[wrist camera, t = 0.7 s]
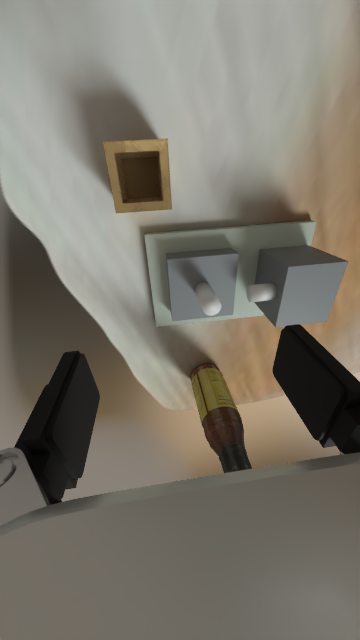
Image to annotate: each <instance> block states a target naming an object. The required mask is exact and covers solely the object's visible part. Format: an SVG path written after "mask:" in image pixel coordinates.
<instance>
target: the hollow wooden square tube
mask: <svg viewBox="0 0 360 640" xmlns="http://www.w3.org/2000/svg"><path fill="white" fill-rule="evenodd" d="M103 145H104V151H105V156H106V162H107V167H108V172H109V178H110V183H111V189H112V194H113V199H114V205H115V210H116V213H126V212H140V211H154V210H169V209H172V203H171V187H170V171H169V155H168V139H151V140H130V141H108V142H103ZM143 157H157V160H158V172H159V184H160V195H161V197H157V198H142V199H127V192H126V186H125V179H124V173H123V167H122V160H121V159H124V158H143Z"/></svg>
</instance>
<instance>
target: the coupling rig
mask: <svg viewBox="0 0 360 640" xmlns="http://www.w3.org/2000/svg"><path fill="white" fill-rule="evenodd" d="M316 223H317V222H315V221H298V222H285V223H272V224H259V225H246V226H233V227H220V228H207V229H194V230H181V231H168V232H155V233H145V234H144V236H145V244H146V251H147V259H148V267H149V274H150V282H151V290H152V298H153V305H154V313H155V321H156V327H160V326H169V325H179V324H188V323H197V322H206V321H216V320H225V319H234V318H243V317H253V316H262V315H265V316H266V317H267V318H268V319H269V320H270V321H271V323H272V324H273V325H274V326H275V327H282V326H287V325H295V324H309V323H317V322H326V321H327V319H328V317H329V314H330V311H331V308H332V305H333V303H334V300H335V297H336V294H337V291H338V289H339V286H340V283H341V280H342V278H343V275H344V272H345V269H346V266H347V264H348V261H346V260H343V259H341V258H338V257H336V256H333V255H331V254H328V253H326V252H323V251H321V250H319V249H316V248H314V247H311V242H312V239H313V235H314V231H315V227H316Z"/></svg>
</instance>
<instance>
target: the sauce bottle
mask: <svg viewBox="0 0 360 640" xmlns="http://www.w3.org/2000/svg"><path fill="white" fill-rule="evenodd" d="M191 381H192V388H193V392H194V395H195V399H196V403H197V407H198V411H199V415H200V419H201V423H202V426H203V428H204V432H205V436H206V439H207V441H208V442H209V444H210V447H211V448H212V449H213V450H214V451H215V452H216V454H217V455H218V456H219V459H220V461H221V464H222V468H223V471H224V473H229V472H235V471H241V470H247V469H252V467H251V464H250V462H249V459H248V457H247V452H246V449H245V446H244V429H243V424H242V420H241V417H240V414H239V412H238V410H237V407H236V405H235V403H234V400H233V398H232V396H231V393H230V391H229V389H228V386H227V384H226V382H225V379H224V377H223V375H222V373H221V372H220V370H219V368H218V367H216V366H214V365H211V364H204V365H201V366H199V367H197V368H195V369H194V370H193V372H192V375H191Z"/></svg>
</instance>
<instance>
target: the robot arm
mask: <svg viewBox="0 0 360 640" xmlns="http://www.w3.org/2000/svg"><path fill="white" fill-rule="evenodd" d="M273 374H274V377H275V378H276V380H277V381H278V383H279V385H280V386H281V388H282V389H283V391H284V392H285V394H286V396H287V397H288V398H289V400H290V402H291V403H292V405H293V407H294V408H295V409H296V411H297V413H298V414H299V416H300V418H301V419H302V420H303V422H304V424H305V425H306V427H307V429H308V430H309V432H310V433H311V435H312V436H313V438H314V439H315V440H319V442H320V444H321V445H322V447H323V448H326V447H332V446H337V447H338V449H339V450H340V455H338V456H330V457H323V458H317V459H310V460H304V461H297V462H291V463H285V464H278V465H272V466H266V467H260V468H254V469H247V470H241V471H235V472H229V473H223V474H217V475H211V476H205V477H198V478H193V479H186V480H181V481H174V482H169V483H163V484H157V485H151V486H145V487H139V488H134V489H127V490H122V491H116V492H110V493H105V494H100V495H94V496H89V497H84V498H78V499H73V500H70V501H65V502H62V500H61V498H62V497H63V495H64V491H65V489H71V488H76V484H77V480H78V478H81V477H82V475H83V471H84V467H85V462H86V457H87V453H88V449H89V444H90V439H91V435H92V431H93V426H94V422H95V418H96V413H97V408H98V404H99V399H100V395H99V391H98V388H97V386H96V383H95V381H94V378H93V375H92V373H91V370H90V368H89V365H88V363H87V360H86V358H85V355H84V354H81V353H80V352H79V351H72V352H65V353H64V354H63V356H62V358H61V360H60V362H59V364H58V366H57V368H56V370H55V372H54V374H53V376H52V378H51V380H50V382H49V384H48V385H46V386H45V388H44V389H43V391H42V393H41V395H40V397H39V399H38V401H37V403H36V405H35V407H34V409H33V411H32V413H31V415H30V417H29V419H28V421H27V423H26V425H25V427H24V429H23V431H22V433H21V435H20V437H19V439H18V441H17V443H16V445H15V447H14V448H7V449H4V450H1V451H0V640H360V382H359V381H358V380H357V379H356V378H355V377H354V376H353V375H352V374H351V373H350V372H349V371H348V370H347V369H346V368H345V367H344V366H343V365H342V364H341V363H340V362H339V361H338V360H336V359H335V358H334V357H333V356H332V355H331V354H330V353H329V352H328V351H327V350H326V349H325V348H324V347H323V346H322V345H321V344H320V343H319V342H318V341H317V340H316V339H315V338H314V337H313V336H311V335H310V334H309V333H308V332H307V331H306V330H305V329H304V328H303V327H302V326H301V325H300V324H295V325H287V326H285V328H284V329H282V331H281V335H280V339H279V344H278V348H277V352H276V357H275V361H274V365H273Z"/></svg>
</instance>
